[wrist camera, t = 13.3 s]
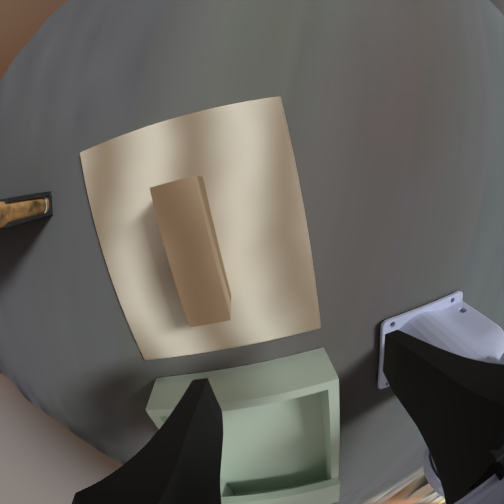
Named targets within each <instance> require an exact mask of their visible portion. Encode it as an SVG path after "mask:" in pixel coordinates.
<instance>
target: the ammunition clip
mask: <svg viewBox="0 0 504 504" xmlns="http://www.w3.org/2000/svg"><path fill="white" fill-rule="evenodd" d="M52 215H53V213H52V200H51V191H50V192H43V193H36V194H29V195H23V196H17V197H11V198H6V199H2V200H0V229H4V228H10V227H13V226H16V225H20V224H23V223H27V222H30V221H34V220H38V219H41V218H45V217H49V216H52Z"/></svg>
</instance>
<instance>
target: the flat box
mask: <svg viewBox="0 0 504 504" xmlns="http://www.w3.org/2000/svg"><path fill="white" fill-rule="evenodd" d="M203 378H208V380H209V382H210V385H211V387H212V389H213V392H214V394H215V396H216V399H217V401H218V403H219V405H220V408H221V410H222V417H223V445H222V459H221V472H220V491H221V504H330V503H334V502H338V501H339V495H340V481H339V477H338V474H339V445H340V405H339V378H338V376H337V374H336V372H335V370H334V368H333V366H332V364H331V362H330V360H329V358H328V356H327V354H326V352H325V350H324V348H323V347H322V348H319V349H315V350H311V351H307V352H304V353H300V354H295V355H291V356H287V357H283V358H278V359H274V360H269V361H265V362H260V363H255V364H250V365H244V366H239V367H233V368H228V369H221V370H215V371H209V372H202V373H194V374H186V375H178V376H168V377H158V378H156V381H155V384H154V386H153V389H152V392H151V395H150V398H149V401H148V404H147V407H146V412H147V413H148V415H149V416H150V418H151V419H152V421H153V422H154V424H155V425H156V427H157V428H158V429H160V428H161V426H162V425H163V424H164V422H165V421H166V420H167V418H168V417H169V416H170V414H171V413H172V411H173V410H174V408H175V407H176V405H177V404H178V402H179V401H180V399H181V398H182V396H183V394H184V393H185V391H186V390H187V388H188V387H189V385H190V383H191V382H192V381H193V380H196V379H203Z"/></svg>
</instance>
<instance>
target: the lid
mask: <svg viewBox="0 0 504 504" xmlns="http://www.w3.org/2000/svg"><path fill="white" fill-rule="evenodd" d="M80 156H81V162H82V168H83V174H84V179H85V184H86V189H87V194H88V198H89V203H90V207H91V211H92V215H93V219H94V223H95V227H96V231H97V234H98V238H99V241H100V245H101V248H102V252H103V255H104V258H105V261H106V264H107V267H108V270H109V273H110V276H111V279H112V282H113V285H114V288H115V291H116V293H117V296H118V299H119V301H120V304H121V306H122V309H123V312H124V314H125V317H126V319H127V321H128V324H129V326H130V329H131V331H132V333H133V335H134V338H135V340H136V342H137V344H138V347H139V349H140V351H141V353H142V355H143V357H144V359H145V360H150V359H159V358H168V357H176V356H183V355H190V354H197V353H204V352H210V351H216V350H222V349H228V348H233V347H239V346H244V345H249V344H254V343H259V342H264V341H268V340H273V339H278V338H282V337H286V336H291V335H295V334H299V333H303V332H307V331H311V330H315V329H319V328H321V324H320V315H319V306H318V298H317V290H316V282H315V275H314V268H313V261H312V254H311V247H310V241H309V235H308V229H307V223H306V217H305V211H304V205H303V200H302V194H301V189H300V184H299V179H298V173H297V168H296V164H295V159H294V154H293V149H292V145H291V140H290V135H289V131H288V127H287V122H286V118H285V114H284V110H283V105H282V101H281V97H280V96H279V97H272V98H265V99H258V100H252V101H247V102H241V103H236V104H231V105H226V106H221V107H216V108H212V109H208V110H204V111H199V112H195V113H192V114H188V115H184V116H180V117H177V118H173V119H170V120H166V121H163V122H160V123H157V124H153V125H150V126H147V127H144V128H141V129H138V130H136V131H133V132H130V133H127V134H124V135H122V136H119V137H116V138H114V139H111V140H109V141H106V142H104V143H101V144H99V145H97V146H94V147H92V148H90V149H87V150H85V151H83V152H81V153H80Z"/></svg>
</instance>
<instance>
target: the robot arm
mask: <svg viewBox="0 0 504 504" xmlns="http://www.w3.org/2000/svg"><path fill="white" fill-rule="evenodd" d="M462 296H463V293H462V292H461V291H457V292H454V293H452V294H450V295H448V296H445V297H443V298H441V299H438V300H436V301H433V302H431V303H428V304H426V305H424V306H421V307H418V308H416V309H413V310H411V311H408V312H405V313H403V314H400V315H397V316H394V317H392V318H389V319H386V320H384V321H383V322H382V323H381V329H380V356H379V372H378V384H377V386H378V388H379V389H383V388H386V387H388V386H390V387H391V389H392V390H393V392H394V393H395V395H396V396H397V398H398V399H399V401H400V402H401V403H402V405H403V406H404V408H405V409H406V411H407V412H408V414H409V415H410V416H411V418H412V419H413V421H414V422H415V424H416V425H417V427H418V429H419V430H420V432H421V434H422V436H423V438H424V440H425V443H426V445H427V448H426V450H425V452H424V455H423V468H424V473H425V476H426V479H427V481H428V482H429V484H430V485H431V487H432V488H433V489H434V490H435V491H436V492H437V493H438V494H440V495H442V496H443V497H445V501H446V504H504V331H503V330H502V329H501V328H500V327H499V326H498V325H497V324H496V323H494V322H493V321H491V320H490V319H488V318H487V317H485V316H484V315H482V314H481V313H479V312H478V311H476V310H475V309H473V308H472V307H470V306H469V305H467V304H466V303H464V302H463V301H462ZM392 322H393V323H392ZM391 323H392V325H390V324H391ZM222 445H223V417H222V410H221V408H220V405H219V403H218V401H217V399H216V396H215V394H214V392H213V389H212V387H211V385H210V382H209V380H208V378H203V379H196V380H193V381H192V382H191V383H190V385H189V387H188V388H187V390H186V391H185V393H184V394H183V396H182V398H181V399H180V401H179V402H178V404H177V405H176V407H175V408H174V410H173V411H172V413H171V414H170V416H169V417H168V418H167V420H166V421H165V422H164V424H163V425H162V426H161V428H160V429H159V430H158V431H157V433H156V434H155V435H154V436H153V438H152V439H151V440H150V441H149V442H148V443H147V444H146V445H145V446H144V447H143V448H142V449H141V450H140V451H139V452H138V453H137V454H136V455H135V456H134V457H132V458H131V459H130V460H129V461H128V462H126V463H125V464H124V465H123V466H122V467H120V468H119V469H118V470H116V471H115V472H113V473H112V474H110V475H109V476H107V477H106V478H104V479H103V480H101V481H99V482H97V483H96V484H94V485H92V486H90V487H88V488H85V489H83V490H81V491H79V492H77V493H76V494H75V496H74V499H73V502H72V504H221V491H220V472H221V459H222Z"/></svg>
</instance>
